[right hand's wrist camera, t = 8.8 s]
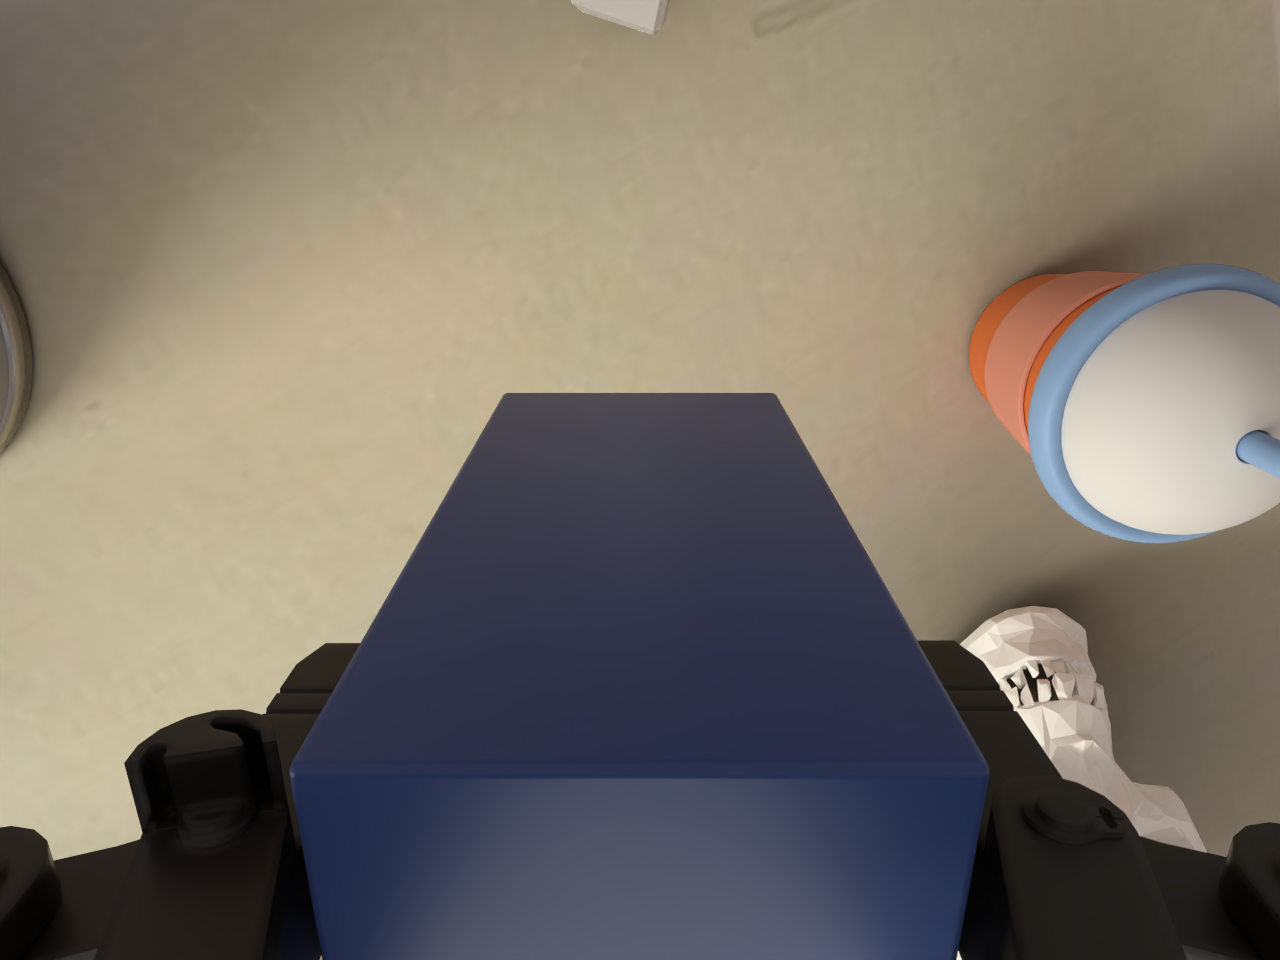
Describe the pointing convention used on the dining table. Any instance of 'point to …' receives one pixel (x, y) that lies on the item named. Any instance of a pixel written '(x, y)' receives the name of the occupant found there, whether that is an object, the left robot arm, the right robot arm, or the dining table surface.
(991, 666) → the skull
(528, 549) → the brick
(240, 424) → the dining table surface
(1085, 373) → the cup with straw
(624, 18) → the white jointed bar
